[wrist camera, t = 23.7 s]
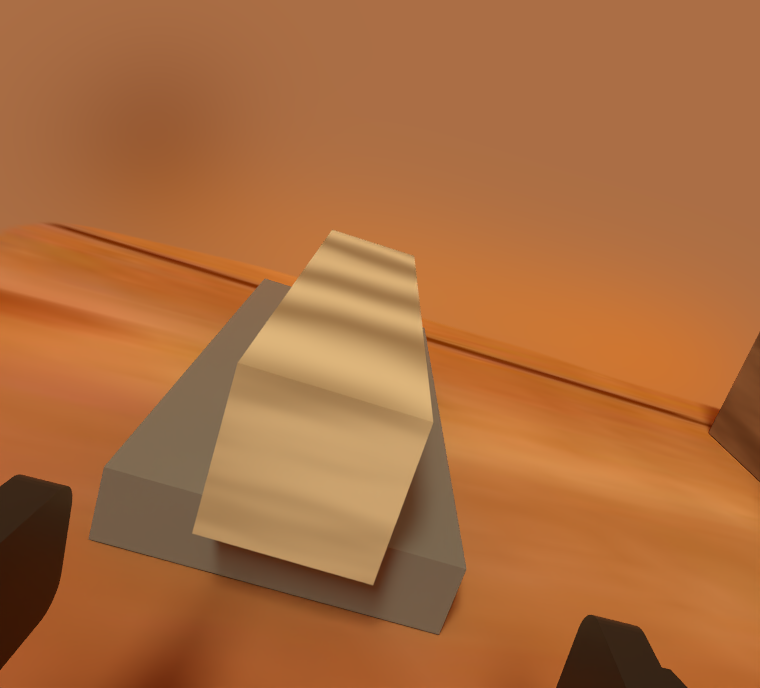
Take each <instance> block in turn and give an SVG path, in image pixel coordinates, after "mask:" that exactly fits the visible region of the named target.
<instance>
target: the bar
mask: <svg viewBox="0 0 760 688" xmlns="http://www.w3.org/2000/svg"><path fill="white" fill-rule="evenodd" d="M432 425H433V414H432V406H431V397H430V389H429V380H428V371H427V363H426V354H425V346H424V337H423V328H422V320H421V311H420V303H419V295H418V285H417V277H416V268H415V260H414V256H412V255H409V254H406V253H403V252H400V251H397V250H394V249H391V248H388V247H385V246H381V245H378V244H375V243H372V242H369V241H366V240H363V239H360V238H356V237H353V236H350V235H347V234H344V233H341V232H338V231H335V230H332V231H331V232H330V234H329V235H328V237H327V238H326V240H325V241H324V243H323V244H322V245H321V247H320V248H319V249H318V251H317V252H316V254H315V255H314V256H313V258H312V259H311V261H310V262H309V263H308V265H307V266H306V268H305V269H304V270H303V272H302V273H301V275H300V276H299V277H298V279H297V280H296V282H295V283H294V284H293V286H292V287H291V289H290V290H289V291H288V293H287V294H286V296H285V297H284V298H283V300H282V301H281V303H280V304H279V305H278V307H277V308H276V310H275V311H274V312H273V314H272V315H271V317H270V318H269V319H268V321H267V322H266V324H265V325H264V326H263V328H262V329H261V331H260V332H259V333H258V335H257V336H256V338H255V339H254V340H253V342H252V343H251V345H250V346H249V347H248V349H247V350H246V352H245V353H244V354H243V356H242V357H241V359H240V360H239V362H238V363H237V367H236V371H235V374H234V378H233V382H232V386H231V389H230V393H229V397H228V401H227V404H226V408H225V412H224V416H223V419H222V423H221V427H220V431H219V434H218V438H217V442H216V446H215V449H214V453H213V457H212V461H211V464H210V468H209V472H208V476H207V479H206V483H205V487H204V491H203V494H202V498H201V502H200V506H199V509H198V513H197V517H196V521H195V524H194V528H193V532H192V534H196V535H199V536H203V537H206V538H210V539H213V540H217V541H220V542H224V543H227V544H231V545H234V546H238V547H241V548H245V549H248V550H252V551H255V552H259V553H262V554H266V555H269V556H273V557H276V558H280V559H283V560H287V561H290V562H293V563H297V564H300V565H304V566H307V567H311V568H314V569H318V570H321V571H325V572H328V573H332V574H335V575H339V576H342V577H346V578H349V579H353V580H356V581H360V582H363V583H367V584H370V585H373V584H374V581H375V578H376V576H377V573H378V570H379V568H380V565H381V562H382V560H383V557H384V554H385V552H386V549H387V546H388V543H389V541H390V538H391V535H392V533H393V530H394V527H395V525H396V522H397V519H398V516H399V514H400V511H401V508H402V506H403V503H404V500H405V498H406V495H407V492H408V490H409V487H410V484H411V481H412V479H413V476H414V473H415V471H416V468H417V465H418V463H419V460H420V457H421V454H422V452H423V449H424V446H425V444H426V441H427V438H428V436H429V433H430V430H431V427H432Z"/></svg>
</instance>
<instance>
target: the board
mask: <svg viewBox="0 0 760 688" xmlns="http://www.w3.org/2000/svg"><path fill="white" fill-rule="evenodd" d="M290 289H291V287H290V286H287V285H284V284H281V283H277V282H274V281H271V280H268V279H264V280H263V281H262V283H261V284H260V285H259V286H258V287H257V288H256V290H255V291H254V292H253V293H252V294H251V295H250V297H249V298H248V299H247V300H246V301H245V302H244V304H243V305H242V306H241V307H240V308H239V309H238V311H237V312H236V313H235V314H234V315H233V316H232V318H231V319H230V320H229V321H228V322H227V324H226V325H225V326H224V327H223V328H222V329H221V331H220V332H219V333H218V334H217V335H216V336H215V338H214V339H213V340H212V341H211V342H210V343H209V345H208V346H207V347H206V348H205V349H204V350H203V352H202V353H201V354H200V355H199V356H198V358H197V359H196V360H195V361H194V362H193V363H192V365H191V366H190V367H189V368H188V369H187V370H186V372H185V373H184V374H183V375H182V376H181V377H180V379H179V380H178V381H177V382H176V383H175V384H174V386H173V387H172V388H171V389H170V390H169V392H168V393H167V394H166V395H165V396H164V397H163V399H162V400H161V401H160V402H159V403H158V404H157V406H156V407H155V408H154V409H153V410H152V411H151V413H150V414H149V415H148V416H147V417H146V418H145V420H144V421H143V422H142V423H141V424H140V425H139V427H138V428H137V429H136V430H135V431H134V433H133V434H132V435H131V436H130V437H129V438H128V440H127V441H126V442H125V443H124V444H123V445H122V447H121V448H120V449H119V450H118V451H117V452H116V454H115V455H114V456H113V457H112V458H111V459H110V461H109V462H108V463H107V464H106V465H105V467H104V469H103V474H102V479H101V483H100V488H99V493H98V498H97V502H96V507H95V512H94V516H93V521H92V526H91V530H90V535H89V539H90V540H94V541H98V542H101V543H105V544H109V545H112V546H116V547H120V548H123V549H127V550H131V551H134V552H138V553H142V554H145V555H149V556H153V557H156V558H160V559H164V560H167V561H171V562H175V563H178V564H182V565H186V566H189V567H193V568H197V569H200V570H204V571H208V572H211V573H215V574H219V575H222V576H226V577H230V578H233V579H237V580H241V581H244V582H248V583H251V584H255V585H259V586H262V587H266V588H270V589H273V590H277V591H281V592H284V593H288V594H292V595H295V596H299V597H303V598H306V599H310V600H314V601H317V602H321V603H325V604H328V605H332V606H336V607H339V608H343V609H347V610H350V611H354V612H358V613H361V614H365V615H369V616H372V617H376V618H380V619H383V620H387V621H391V622H394V623H398V624H402V625H405V626H409V627H413V628H416V629H420V630H424V631H427V632H431V633H435V634H438V635H439V634H440V631H441V629H442V626H443V624H444V622H445V619H446V617H447V615H448V612H449V610H450V607H451V605H452V603H453V600H454V598H455V595H456V593H457V591H458V588H459V586H460V583H461V581H462V579H463V576H464V574H465V571H466V564H465V558H464V553H463V547H462V541H461V535H460V530H459V524H458V518H457V512H456V507H455V501H454V495H453V489H452V484H451V478H450V472H449V466H448V461H447V455H446V449H445V444H444V438H443V432H442V426H441V421H440V415H439V409H438V403H437V398H436V392H435V386H434V380H433V375H432V369H431V363H430V358H429V352H428V346H427V340H426V335H425V329H424V328H423V327H422V328H423V337H424V346H425V354H426V363H427V371H428V380H429V389H430V397H431V406H432V414H433V425H432V427H431V430H430V433H429V436H428V438H427V441H426V444H425V446H424V449H423V452H422V454H421V457H420V460H419V463H418V465H417V468H416V471H415V473H414V476H413V479H412V481H411V484H410V487H409V490H408V492H407V495H406V498H405V500H404V503H403V506H402V508H401V511H400V514H399V516H398V519H397V522H396V525H395V527H394V530H393V533H392V535H391V538H390V541H389V543H388V546H387V549H386V552H385V554H384V557H383V560H382V562H381V565H380V568H379V570H378V573H377V576H376V578H375V581H374V584H373V585H370V584H367V583H363V582H360V581H356V580H353V579H349V578H346V577H342V576H339V575H335V574H332V573H328V572H325V571H321V570H318V569H314V568H311V567H307V566H304V565H300V564H297V563H293V562H290V561H287V560H283V559H280V558H276V557H273V556H269V555H266V554H262V553H259V552H255V551H252V550H248V549H245V548H241V547H238V546H234V545H231V544H227V543H224V542H220V541H217V540H213V539H210V538H206V537H203V536H199V535H196V534H192V532H193V528H194V524H195V521H196V517H197V513H198V509H199V506H200V502H201V498H202V494H203V491H204V487H205V483H206V479H207V476H208V472H209V468H210V464H211V461H212V457H213V453H214V449H215V446H216V442H217V438H218V434H219V431H220V427H221V423H222V419H223V416H224V412H225V408H226V404H227V401H228V397H229V393H230V389H231V386H232V382H233V378H234V374H235V371H236V367H237V363H238V362H239V360H240V359H241V357H242V356H243V354H244V353H245V352H246V350H247V349H248V347H249V346H250V345H251V343H252V342H253V340H254V339H255V338H256V336H257V335H258V333H259V332H260V331H261V329H262V328H263V326H264V325H265V324H266V322H267V321H268V319H269V318H270V317H271V315H272V314H273V312H274V311H275V310H276V308H277V307H278V305H279V304H280V303H281V301H282V300H283V298H284V297H285V296H286V294H287V293H288V291H289V290H290Z"/></svg>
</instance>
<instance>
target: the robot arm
mask: <svg viewBox="0 0 760 688" xmlns="http://www.w3.org/2000/svg"><path fill="white" fill-rule="evenodd" d="M71 506H72V491H71V488H70V487H68V486H65V485H61V484H57V483H53V482H49V481H45V480H41V479H37V478H33V477H29V476H25V475H16V476H14V477H12V478H11V479H10V480H8V481H7V482H6V483H4V484H3V485H2V486H0V670H1V668H2V667H3V666H4V665H5V664H6V662H7V661H8V660H9V659H10V657H11V656H12V655H13V654H14V653H15V651H16V650H17V649H18V648H19V647H20V645H21V644H22V643H23V642H24V640H25V639H26V638H27V637H28V636H29V634H30V633H31V632H32V631H33V629H34V628H35V627H36V626H37V625H38V623H39V622H40V621H41V620H42V618H43V617H44V615H45V614H46V612H47V610H48V609H49V607H50V605H51V603H52V601H53V598H54V596H55V594H56V591H57V588H58V585H59V581H60V577H61V572H62V565H63V559H64V552H65V545H66V539H67V532H68V526H69V519H70V512H71ZM556 688H687V687H686V686H685V685H684V683H683V682H682V681H681V680H680V679H679V678H678V677H677V676H676V675H675V674H674V673H673V672H672V671H671V670H670V669H666V668H662V667H661V665H660V663H659V661H658V660H657V658H656V656H655V654H654V652H653V650H652V648H651V646H650V644H649V642H648V640H647V638H646V636H645V634H644V633H643V631H642V630H641V629H640V628H639V627H638V626H634V625H630V624H626V623H622V622H618V621H614V620H610V619H606V618H602V617H598V616H594V615H588V616H586V617H585V618H584V620H583V621H582V623H581V624H580V627H579V629H578V632H577V634H576V637H575V640H574V642H573V645H572V647H571V650H570V653H569V655H568V658H567V661H566V663H565V666H564V668H563V671H562V674H561V676H560V679H559V682H558V684H557V687H556Z"/></svg>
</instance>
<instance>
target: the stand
mask: <svg viewBox="0 0 760 688" xmlns="http://www.w3.org/2000/svg"><path fill="white" fill-rule="evenodd" d="M709 434H710V435H711V436H712V437H714V438H715V439H716V440H717V441H718V442H719V443H720V444H721V445H722V446H723V447H724V448H725V449H726V450H727V451H728V452H729V453H730V454H732V455H733V456H734V457H735V458H736V459H737V460H738V461H739V462H740V463H741V464H742V465H743V466H744V467H745V468H746V469H747V470H748V471H750V472H751V473H752V474H753V475H754V476H755V477H756V478H757V479H758V480H759V481H760V333H759V335H758V337H757V339H756V341H755V343H754V345H753V347H752V348H751V351H750V352H749V354H748V357H747V358H746V360H745V362H744V364H743V366H742V368H741V370H740V372H739V374H738V376H737V378H736V380H735V382H734V384H733V386H732V388H731V390H730V392H729V394H728V396H727V398H726V400H725V402H724V403H723V405H722V407H721V409H720V411H719V413H718V415H717V417H716V419H715V421H714V423H713V425H712V427H711V429H710V431H709Z"/></svg>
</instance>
